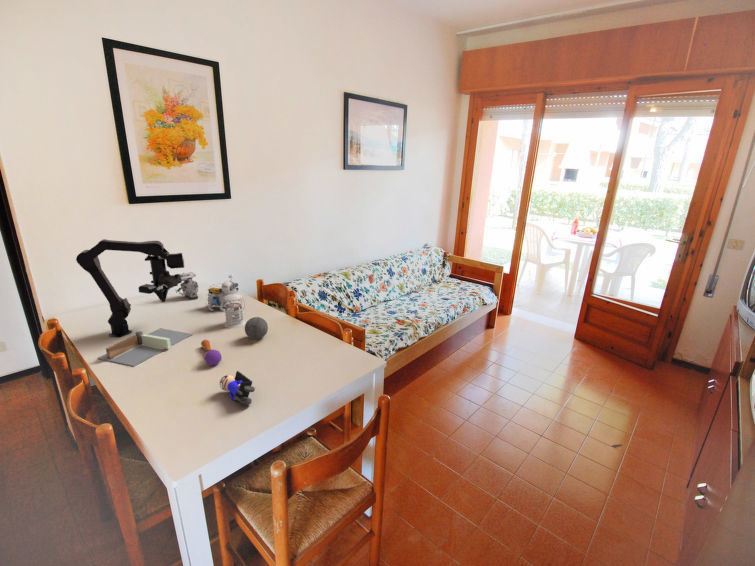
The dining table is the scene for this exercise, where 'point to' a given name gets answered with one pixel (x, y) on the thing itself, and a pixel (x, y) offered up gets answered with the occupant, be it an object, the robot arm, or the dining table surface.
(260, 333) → the decorative ball
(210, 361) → the kendama
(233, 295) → the french press
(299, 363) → the dining table surface
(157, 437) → the dining table surface
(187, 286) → the figurine
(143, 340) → the swing panel
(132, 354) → the card
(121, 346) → the brown wooden bar
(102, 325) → the dining table surface
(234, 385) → the character figurine
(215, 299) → the robotic toy
